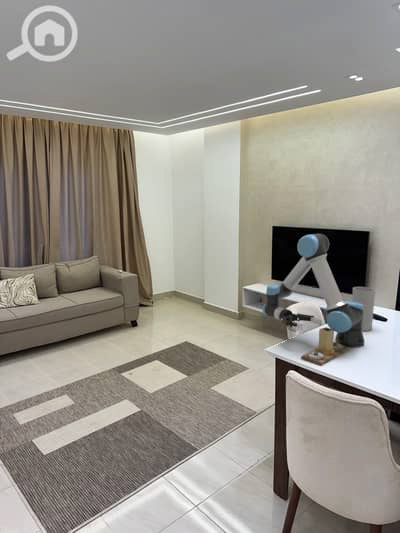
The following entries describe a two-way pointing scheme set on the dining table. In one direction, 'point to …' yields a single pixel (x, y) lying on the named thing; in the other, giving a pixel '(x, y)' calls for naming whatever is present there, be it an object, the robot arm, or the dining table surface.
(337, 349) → the board
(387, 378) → the dining table surface
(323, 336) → the yellow tan stepped cylinder
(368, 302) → the cylinder vase
